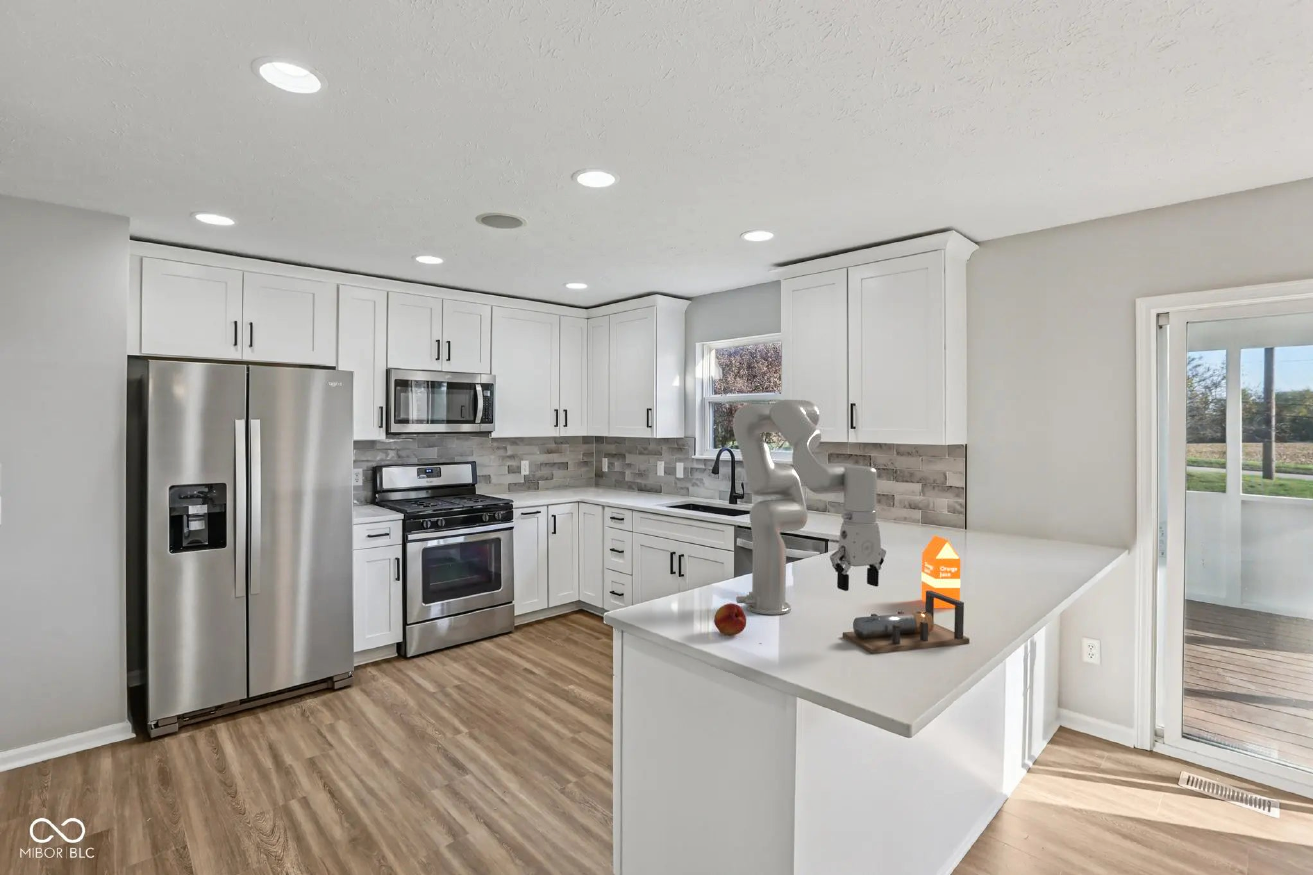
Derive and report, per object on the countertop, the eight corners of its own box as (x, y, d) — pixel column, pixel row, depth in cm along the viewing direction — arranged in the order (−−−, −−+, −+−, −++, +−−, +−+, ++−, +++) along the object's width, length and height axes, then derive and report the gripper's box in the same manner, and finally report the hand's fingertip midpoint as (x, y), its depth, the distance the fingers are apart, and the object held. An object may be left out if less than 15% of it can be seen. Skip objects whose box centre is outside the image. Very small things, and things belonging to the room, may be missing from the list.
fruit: (720, 641, 155) (721, 609, 155) (709, 631, 163) (709, 600, 163) (750, 638, 157) (750, 607, 157) (737, 628, 165) (737, 598, 165)
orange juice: (945, 599, 195) (946, 535, 195) (960, 607, 186) (961, 540, 186) (920, 599, 195) (921, 535, 194) (934, 607, 186) (935, 540, 186)
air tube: (865, 641, 153) (865, 619, 153) (853, 635, 157) (853, 614, 157) (934, 634, 158) (933, 613, 158) (920, 628, 163) (920, 608, 163)
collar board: (871, 653, 148) (872, 610, 148) (842, 637, 159) (843, 596, 159) (969, 643, 156) (970, 602, 156) (934, 628, 167) (935, 589, 167)
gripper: (843, 521, 146) (842, 595, 146) (897, 517, 154) (895, 587, 154) (821, 517, 152) (819, 587, 153) (873, 513, 160) (872, 580, 161)
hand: (857, 587), depth 153 cm, fingers open, 9 cm apart
